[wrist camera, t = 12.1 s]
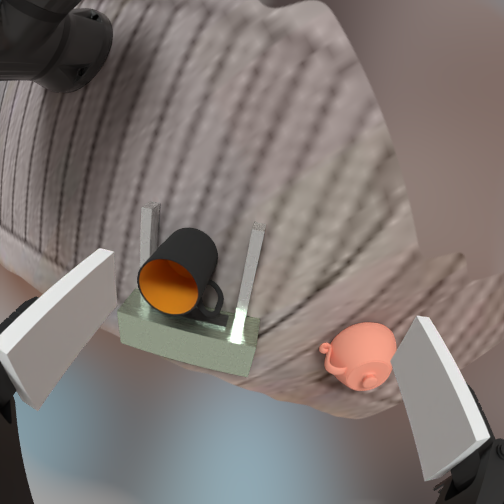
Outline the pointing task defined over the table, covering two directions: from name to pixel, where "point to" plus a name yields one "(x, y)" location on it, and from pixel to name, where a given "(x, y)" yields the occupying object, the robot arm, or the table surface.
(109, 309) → the robot arm
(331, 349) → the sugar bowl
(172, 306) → the mug
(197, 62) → the table surface
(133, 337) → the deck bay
